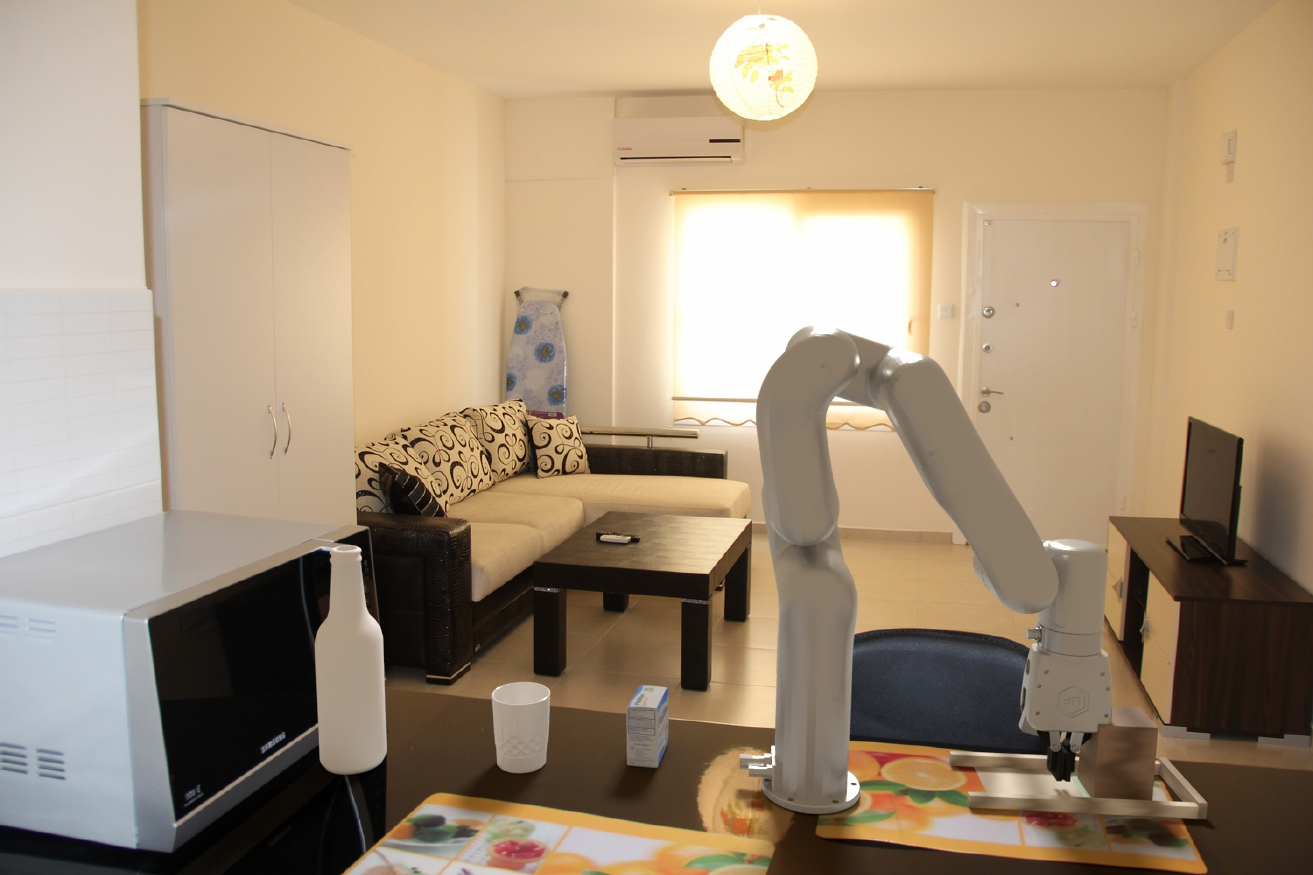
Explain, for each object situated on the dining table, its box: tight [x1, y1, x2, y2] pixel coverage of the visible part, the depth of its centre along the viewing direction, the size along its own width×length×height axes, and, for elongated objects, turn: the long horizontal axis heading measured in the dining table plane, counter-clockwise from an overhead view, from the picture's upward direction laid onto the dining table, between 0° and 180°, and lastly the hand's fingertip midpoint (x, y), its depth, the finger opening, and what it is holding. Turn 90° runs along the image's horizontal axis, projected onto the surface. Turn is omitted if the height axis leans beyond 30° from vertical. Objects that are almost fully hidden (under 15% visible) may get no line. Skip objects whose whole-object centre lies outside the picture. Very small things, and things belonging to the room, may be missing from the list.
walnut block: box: [1078, 706, 1159, 801], centre depth 125 cm, size 7×6×10 cm
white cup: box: [491, 681, 551, 774], centre depth 135 cm, size 8×8×10 cm
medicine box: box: [625, 684, 670, 769], centre depth 138 cm, size 8×4×9 cm, turn 168°
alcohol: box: [314, 544, 388, 775], centre depth 134 cm, size 9×9×30 cm
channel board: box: [948, 750, 1209, 820], centre depth 127 cm, size 28×12×4 cm, turn 85°
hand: (1059, 776), depth 126 cm, fingers closed
